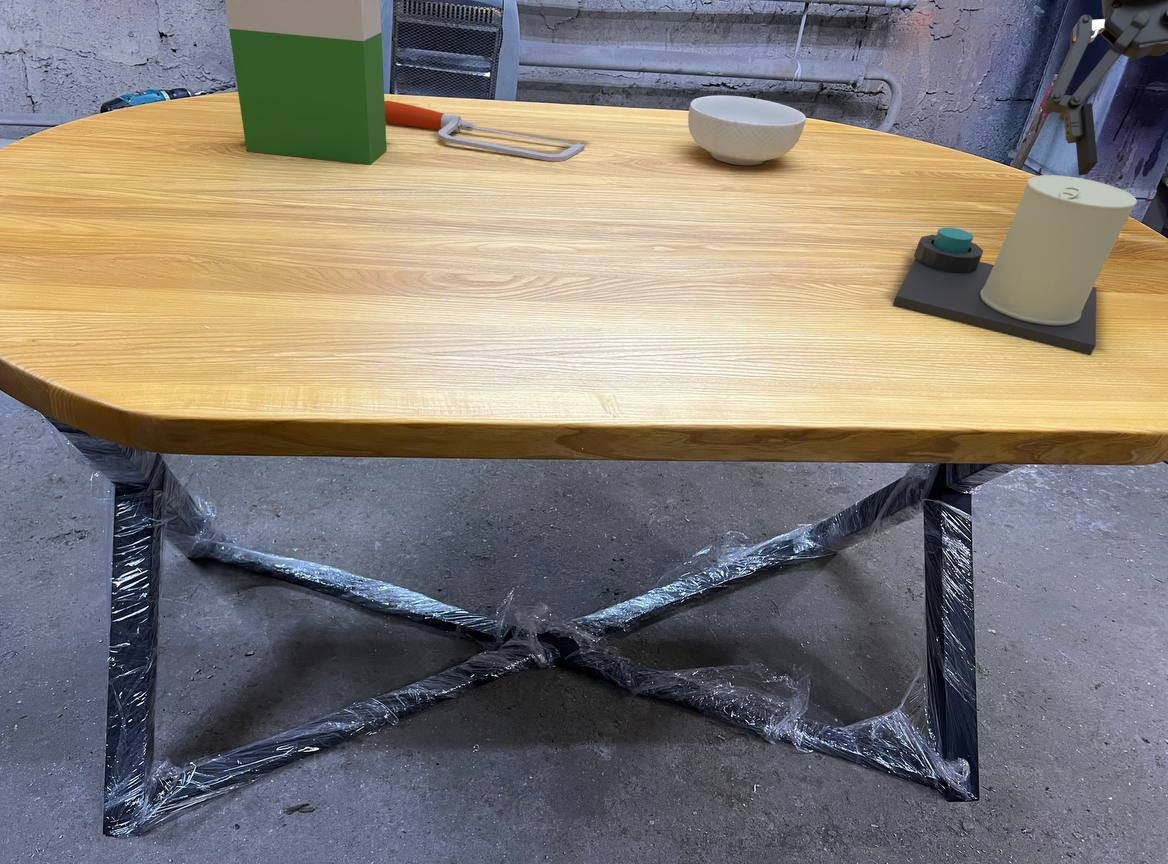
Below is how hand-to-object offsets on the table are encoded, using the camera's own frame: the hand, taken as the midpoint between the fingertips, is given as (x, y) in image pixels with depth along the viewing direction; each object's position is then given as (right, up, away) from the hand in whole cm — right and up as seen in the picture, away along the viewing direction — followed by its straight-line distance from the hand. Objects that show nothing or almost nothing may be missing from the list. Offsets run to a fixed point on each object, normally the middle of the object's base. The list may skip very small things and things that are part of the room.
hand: (1163, 160), depth 84 cm
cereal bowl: (-33, +16, +40) cm, 55 cm away
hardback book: (-95, +13, +31) cm, 101 cm away
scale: (-16, -14, +2) cm, 22 cm away
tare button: (-19, -7, +6) cm, 21 cm away
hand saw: (-73, +18, +40) cm, 85 cm away
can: (-15, -15, -2) cm, 21 cm away
